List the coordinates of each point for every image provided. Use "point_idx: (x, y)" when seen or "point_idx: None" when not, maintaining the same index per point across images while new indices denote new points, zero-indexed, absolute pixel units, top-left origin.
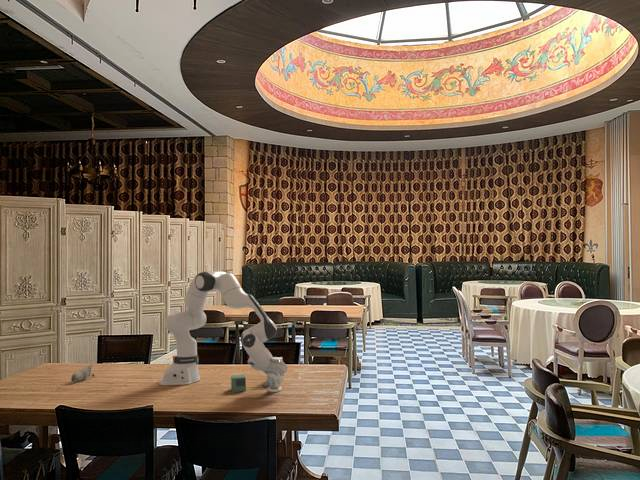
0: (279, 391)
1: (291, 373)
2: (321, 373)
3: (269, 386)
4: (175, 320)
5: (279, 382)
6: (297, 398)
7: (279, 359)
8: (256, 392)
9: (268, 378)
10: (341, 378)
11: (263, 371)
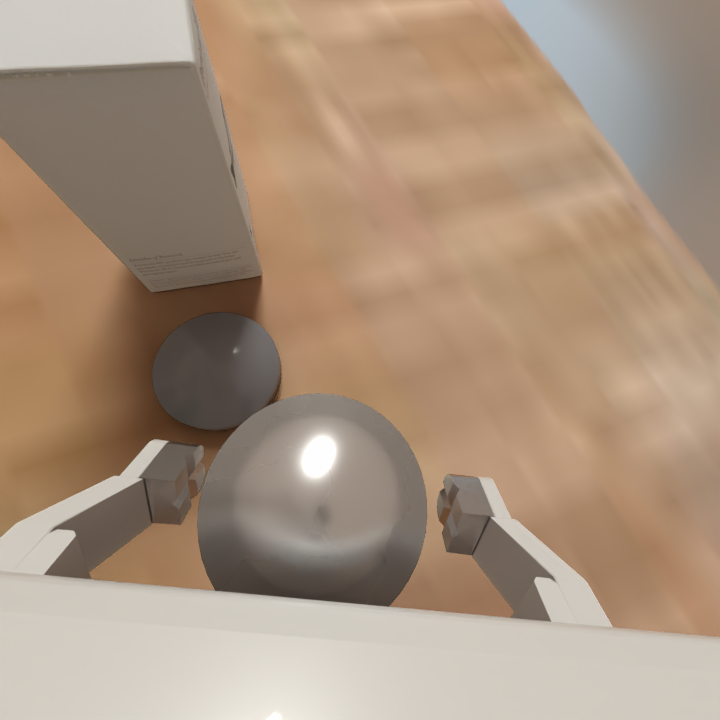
0: None
1: (238, 63)
2: (421, 42)
3: (236, 425)
4: None
5: (260, 274)
6: None
7: (184, 38)
8: None
9: (147, 271)
10: (582, 105)
11: (104, 550)
